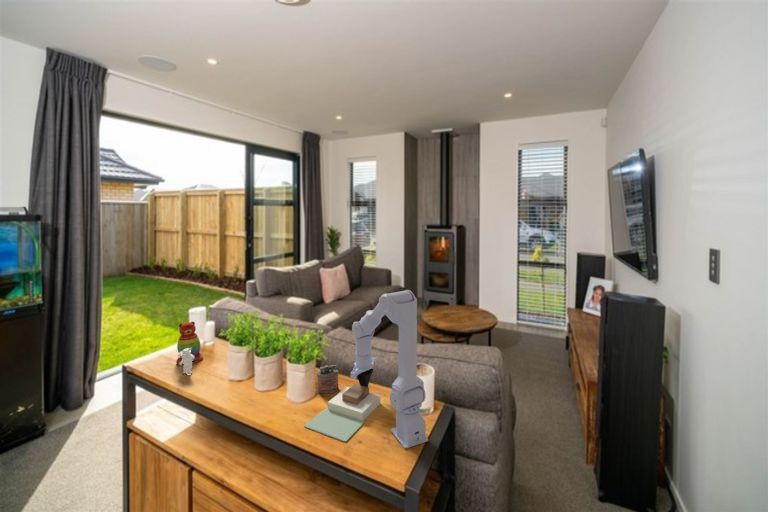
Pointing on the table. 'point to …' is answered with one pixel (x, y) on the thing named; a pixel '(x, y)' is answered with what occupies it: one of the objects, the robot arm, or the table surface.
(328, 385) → the lighter
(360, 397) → the walnut tile
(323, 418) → the mat
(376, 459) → the table surface
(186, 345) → the stacking bear
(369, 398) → the white flat block
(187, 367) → the flower shoulder figurine
